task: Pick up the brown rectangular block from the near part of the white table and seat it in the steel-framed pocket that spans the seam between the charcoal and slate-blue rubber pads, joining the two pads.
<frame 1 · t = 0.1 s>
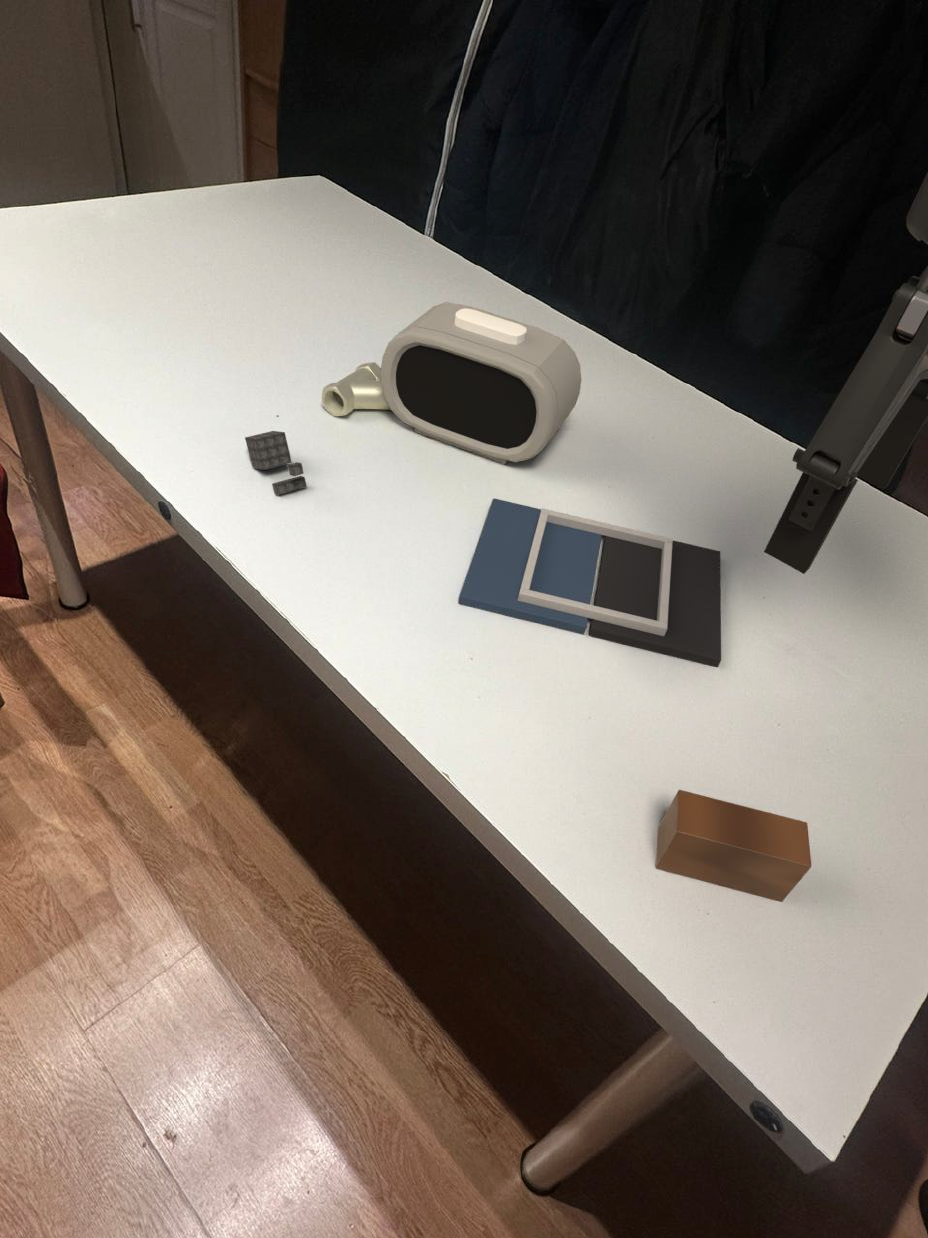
hand: (829, 516, 54), 21 cm above the table, tool pointing down, fingers open, 13 cm apart
brown rectangular block: (718, 864, 59), on the table
alarm clock: (472, 434, 96), on the table
building blocks: (279, 480, 86), on the table
back pads: (595, 579, 80), on the table
pipe fitting: (365, 409, 97), on the table
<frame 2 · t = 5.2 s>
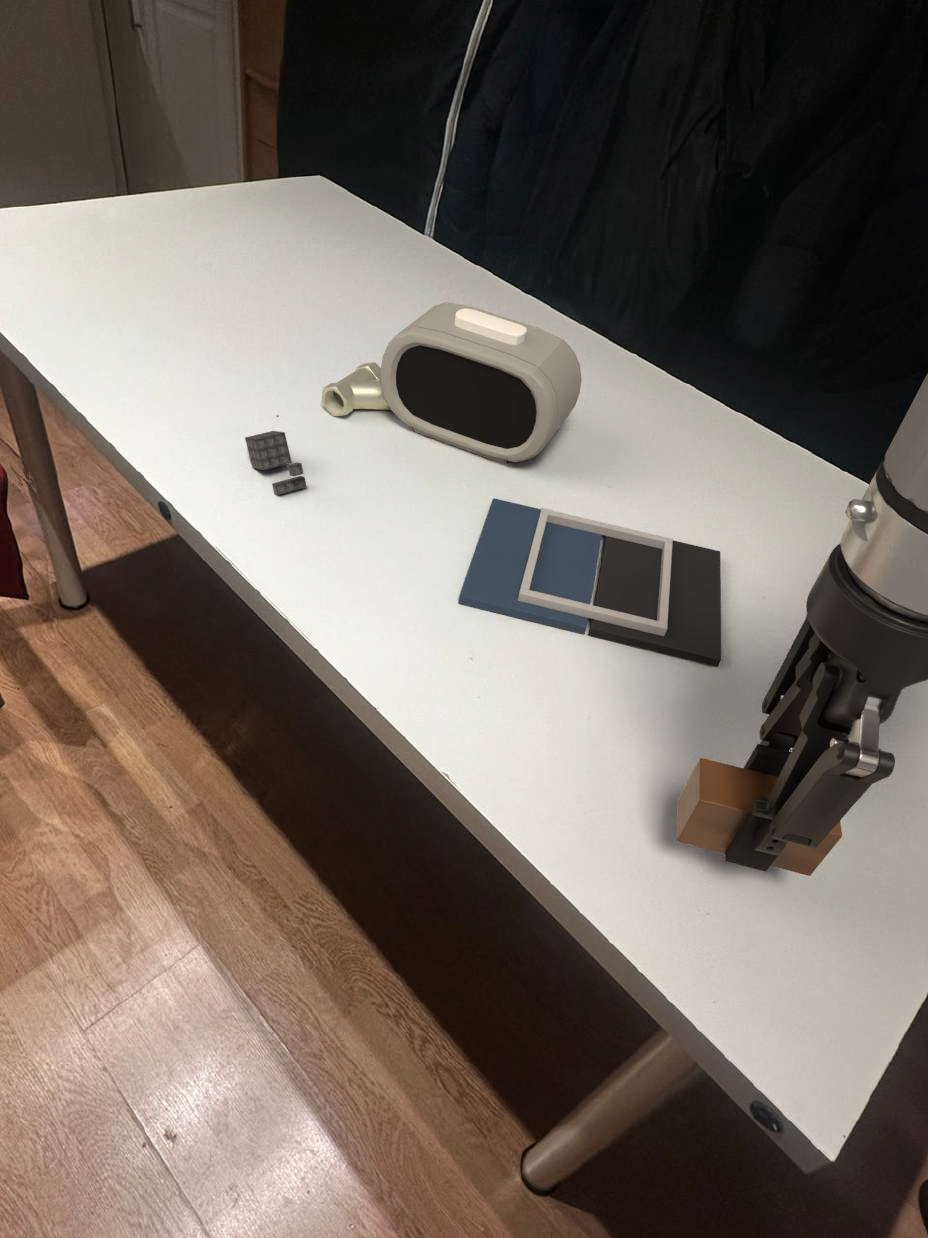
hand: (744, 834, 56), 4 cm above the table, tool pointing down, fingers closed on brown rectangular block, 3 cm apart
brown rectangular block: (741, 837, 56), point 4 cm above the table, touching gripper
everything else where it was.
when the fingers open (1 cm above the table, at t = 10.8 s): brown rectangular block stays where it is, resting on back pads.
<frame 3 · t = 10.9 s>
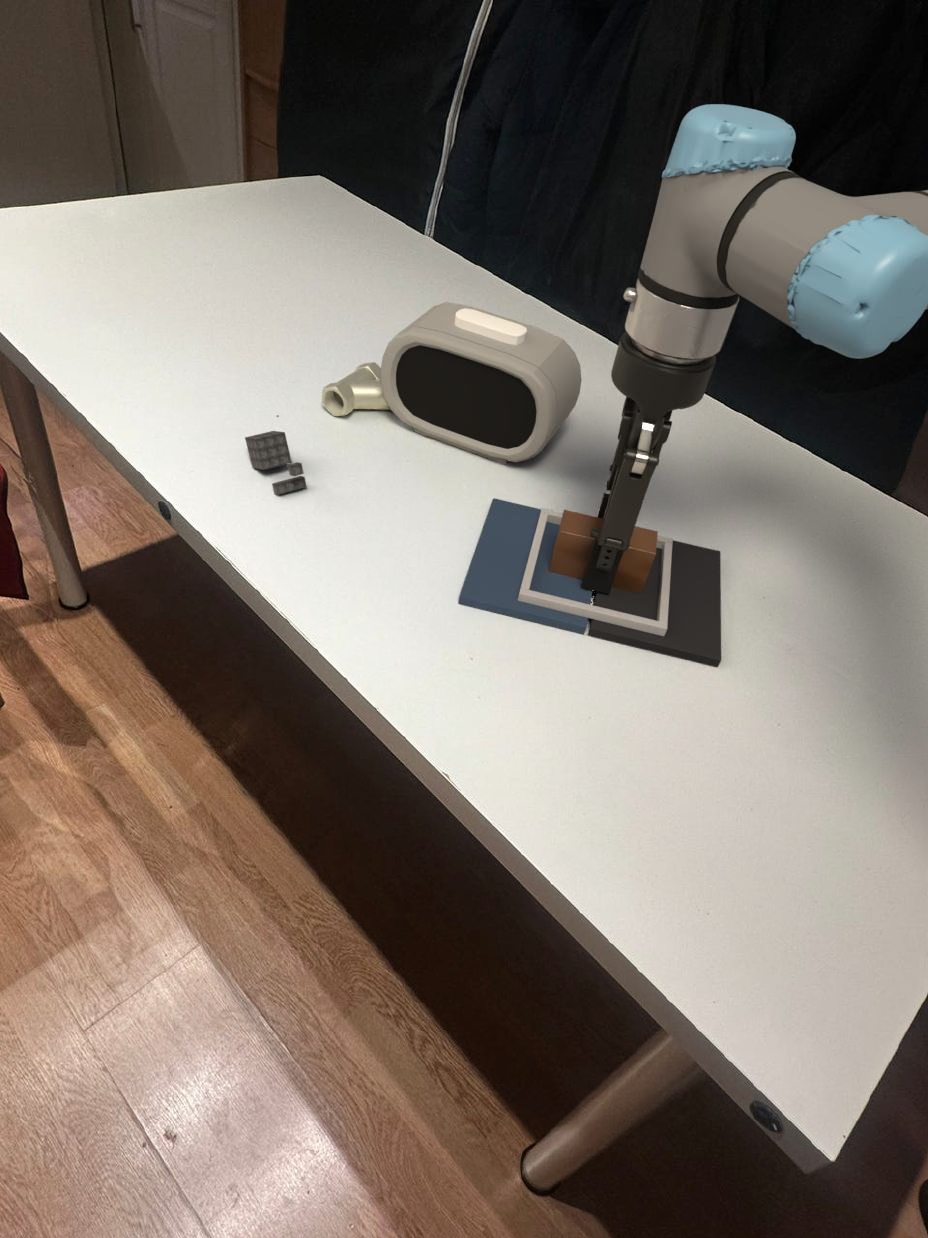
hand: (598, 569, 79), 1 cm above the table, tool pointing down, fingers open, 5 cm apart
brown rectangular block: (596, 571, 79), point 1 cm above the table, touching back pads
everything else where it was.
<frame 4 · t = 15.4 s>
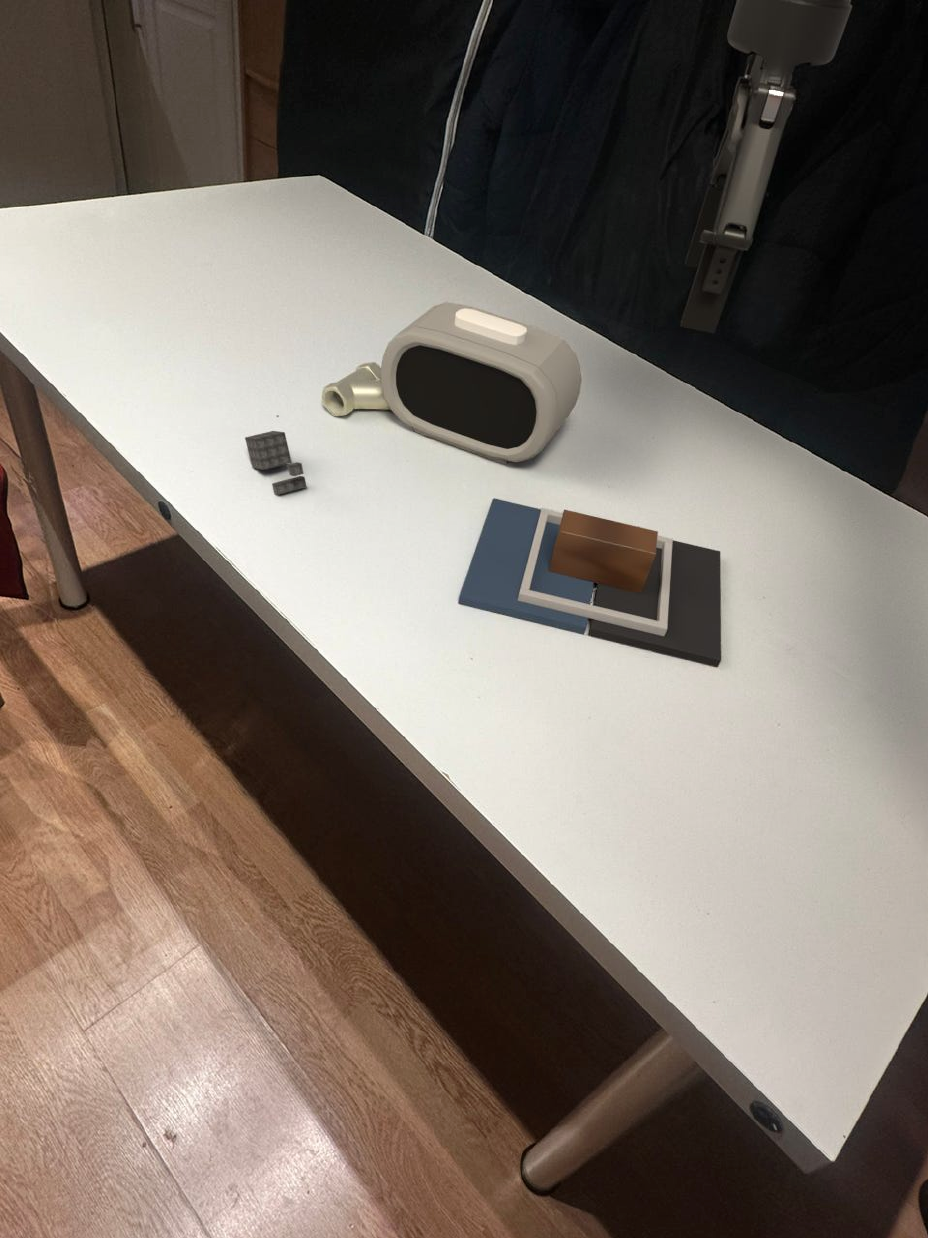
hand: (698, 295, 70), 25 cm above the table, tool pointing down, fingers open, 13 cm apart
nothing on the table moved.
at the end: brown rectangular block 0.1 cm off-centre on the back pads, point 1.0 cm above the back pads's base; brown rectangular block tilted 0°; the gripper is holding nothing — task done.
